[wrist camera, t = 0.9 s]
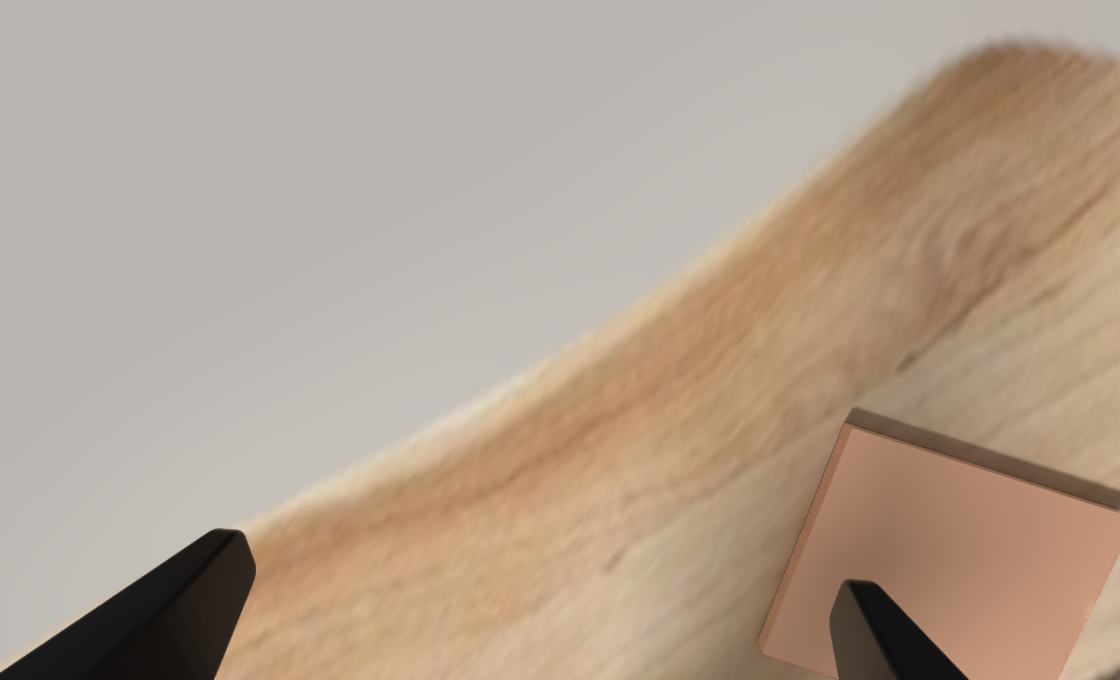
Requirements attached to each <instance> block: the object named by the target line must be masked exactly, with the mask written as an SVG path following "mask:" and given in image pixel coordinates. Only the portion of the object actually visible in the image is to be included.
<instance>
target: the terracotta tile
mask: <svg viewBox="0 0 1120 680" xmlns="http://www.w3.org/2000/svg"><path fill="white" fill-rule="evenodd" d="M1119 553H1120V510H1117V509H1114V508H1111V507H1108V506H1105V505H1102V504H1099V503H1095V502H1092V501H1089V500H1086V499H1083V498H1080V497H1077V496H1073V495H1070V494H1067V493H1064V492H1061V491H1058V490H1055V489H1052V488H1048V487H1045V486H1042V485H1039V484H1036V483H1033V482H1030V481H1026V480H1023V479H1020V478H1017V477H1014V476H1011V475H1008V474H1004V473H1001V472H998V471H995V470H992V469H989V468H986V467H983V466H979V465H976V464H973V463H970V462H967V461H964V460H961V459H957V458H954V457H951V456H948V455H945V454H942V453H939V452H936V451H932V450H929V449H926V448H923V447H920V446H917V445H914V444H910V443H907V442H904V441H901V440H898V439H895V438H892V437H889V436H885V435H882V434H879V433H876V432H873V431H870V430H867V429H863V428H860V427H857V426H854V425H851V424H848V423H844V425H843V428H842V430H841V433H840V435H839V438H838V440H837V443H836V445H835V448H834V450H833V453H832V455H831V458H830V460H829V463H828V465H827V468H826V470H825V473H824V475H823V478H822V480H821V483H820V485H819V488H818V490H817V493H816V495H815V498H814V501H813V503H812V506H811V508H810V511H809V513H808V516H807V518H806V521H805V523H804V526H803V528H802V531H801V533H800V536H799V538H798V541H797V543H796V546H795V548H794V551H793V553H792V556H791V558H790V561H789V563H788V566H787V568H786V571H785V574H784V576H783V579H782V581H781V584H780V586H779V589H778V591H777V594H776V596H775V599H774V601H773V604H772V606H771V609H770V611H769V614H768V616H767V619H766V621H765V624H764V626H763V629H762V631H761V634H760V636H759V639H758V641H757V642H758V645H759V647H760V650H761V652H762V654H764V655H767V656H770V657H773V658H776V659H778V660H781V661H784V662H787V663H790V664H793V665H796V666H799V667H802V668H805V669H808V670H811V671H814V672H817V673H820V674H823V675H826V676H829V677H832V678H835V679H838V680H839V678H838V673H837V667H836V662H835V657H834V651H833V646H832V640H831V635H830V628H829V617H830V612H831V610H832V607H833V604H834V602H835V599H836V596H837V594H838V591H839V588H840V586H841V584H842V582H843V581H844V580H846V579H859V580H870V581H873V582H875V583H877V584H878V585H879V586H880V587H881V588H882V589H883V590H884V591H885V592H886V593H887V594H888V595H889V596H890V597H891V598H892V599H893V600H894V601H895V602H896V603H897V604H898V605H899V606H900V607H901V608H902V610H903V611H904V612H905V613H906V614H907V615H908V616H909V617H910V618H911V619H912V620H913V621H914V622H915V623H916V624H917V625H918V626H919V627H920V628H921V629H922V630H923V632H924V633H925V634H926V635H927V636H928V637H929V638H930V639H931V640H932V641H933V642H934V643H935V644H936V645H937V646H938V647H939V648H940V649H941V650H942V651H943V652H944V653H945V655H946V656H947V657H948V658H949V659H950V660H951V661H952V662H953V663H954V664H955V665H956V666H957V667H958V668H959V669H960V670H961V671H962V672H963V673H964V674H965V675H966V676H967V678H968V679H969V680H1058V678H1059V676H1060V674H1061V672H1062V670H1063V668H1064V666H1065V664H1066V661H1067V659H1068V657H1069V655H1070V653H1071V651H1072V649H1073V647H1074V645H1075V643H1076V641H1077V639H1078V637H1079V635H1080V633H1081V631H1082V629H1083V627H1084V625H1085V623H1086V621H1087V619H1088V617H1089V614H1090V612H1091V610H1092V608H1093V606H1094V604H1095V602H1096V600H1097V598H1098V596H1099V594H1100V592H1101V590H1102V588H1103V586H1104V584H1105V582H1106V580H1107V578H1108V576H1109V574H1110V572H1111V569H1112V567H1113V565H1114V563H1115V561H1116V559H1117V557H1118V555H1119Z"/></svg>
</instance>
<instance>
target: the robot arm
mask: <svg viewBox="0 0 1120 680" xmlns="http://www.w3.org/2000/svg"><path fill="white" fill-rule="evenodd" d="M255 575H256V564H255V561H254V558H253V556H252V553H251V550H250V547H249V545H248V542H247V539H246V536H245V534H244V533H243V532H242V531H240V530H235V529H222V528H218V529H214V530H211V531H209V532H208V533H206V534H205V535H203V536H202V537H200V538H199V539H197V540H196V541H194V542H193V543H191V544H190V545H188V546H187V547H185V548H184V549H182V550H181V551H179V552H178V553H176V554H175V555H173V556H172V557H171V558H169V559H168V560H166V561H165V562H163V563H162V564H160V565H159V566H157V567H156V568H154V569H153V570H151V571H150V572H148V573H147V574H145V575H144V576H142V577H141V578H139V579H138V580H136V581H135V582H133V583H132V584H131V585H129V586H128V587H126V588H125V589H123V590H122V591H120V592H119V593H117V594H116V595H114V596H113V597H111V598H110V599H108V600H107V601H105V602H104V603H102V604H101V605H99V606H98V607H96V608H95V609H93V610H92V611H91V612H89V613H88V614H86V615H85V616H83V617H82V618H80V619H79V620H77V621H76V622H74V623H73V624H71V625H70V626H68V627H67V628H65V629H64V630H62V631H61V632H59V633H58V634H56V635H55V636H53V637H52V638H51V639H49V640H48V641H46V642H45V643H43V644H42V645H40V646H39V647H37V648H36V649H34V650H33V651H31V652H30V653H28V654H27V655H25V656H24V657H22V658H21V659H19V660H18V661H16V662H15V663H13V664H12V665H11V666H9V667H8V668H6V669H5V670H3V671H2V672H0V680H214V679H215V676H216V674H217V672H218V669H219V667H220V665H221V662H222V660H223V657H224V655H225V652H226V650H227V647H228V645H229V642H230V640H231V637H232V635H233V632H234V630H235V627H236V625H237V622H238V620H239V617H240V615H241V612H242V610H243V607H244V605H245V602H246V600H247V597H248V595H249V592H250V590H251V588H252V585H253V582H254V579H255ZM829 628H830V635H831V640H832V646H833V651H834V657H835V662H836V667H837V673H838V678H839V680H969V679H968V678H967V676H966V675H965V674H964V673H963V672H962V671H961V670H960V669H959V668H958V667H957V666H956V665H955V664H954V663H953V662H952V661H951V660H950V659H949V658H948V657H947V656H946V655H945V653H944V652H943V651H942V650H941V649H940V648H939V647H938V646H937V645H936V644H935V643H934V642H933V641H932V640H931V639H930V638H929V637H928V636H927V635H926V634H925V633H924V632H923V630H922V629H921V628H920V627H919V626H918V625H917V624H916V623H915V622H914V621H913V620H912V619H911V618H910V617H909V616H908V615H907V614H906V613H905V612H904V611H903V610H902V608H901V607H900V606H899V605H898V604H897V603H896V602H895V601H894V600H893V599H892V598H891V597H890V596H889V595H888V594H887V593H886V592H885V591H884V590H883V589H882V588H881V587H880V586H879V585H878V584H877V583H875V582H873V581H870V580H859V579H846V580H844V581H843V582H842V584H841V586H840V588H839V591H838V594H837V596H836V599H835V602H834V604H833V607H832V610H831V612H830V617H829Z"/></svg>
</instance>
